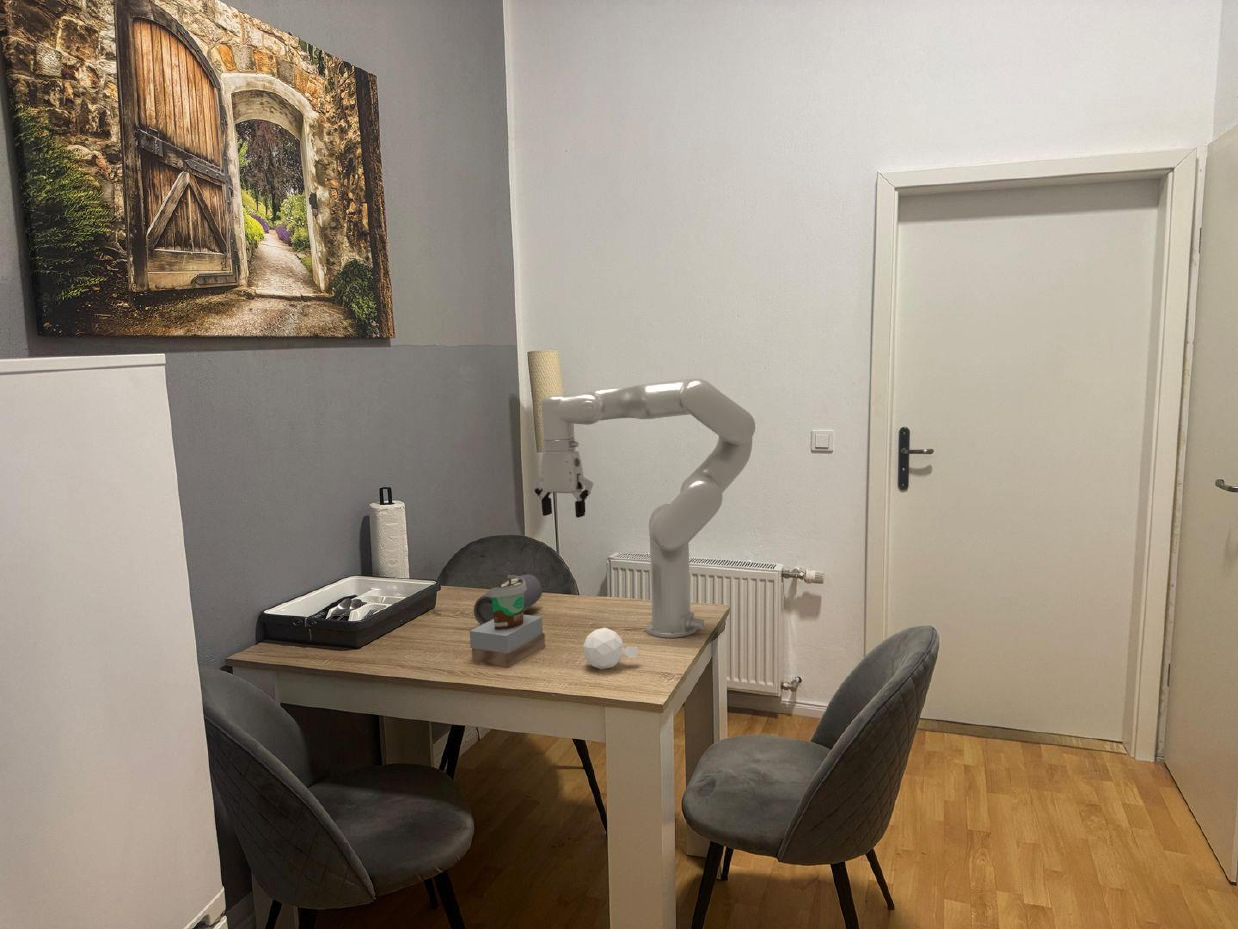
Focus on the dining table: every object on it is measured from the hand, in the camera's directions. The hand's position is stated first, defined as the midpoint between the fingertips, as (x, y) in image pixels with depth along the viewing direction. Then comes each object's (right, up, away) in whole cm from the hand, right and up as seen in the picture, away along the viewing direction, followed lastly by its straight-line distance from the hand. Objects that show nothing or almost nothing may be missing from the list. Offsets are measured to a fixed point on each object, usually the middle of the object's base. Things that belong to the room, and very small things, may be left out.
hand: (563, 515), depth 210 cm
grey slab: (-12, -28, -11) cm, 33 cm away
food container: (-11, -25, -11) cm, 29 cm away
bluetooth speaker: (-15, -29, +17) cm, 37 cm away
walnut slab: (-12, -32, -10) cm, 36 cm away
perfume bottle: (+12, -33, -21) cm, 40 cm away
